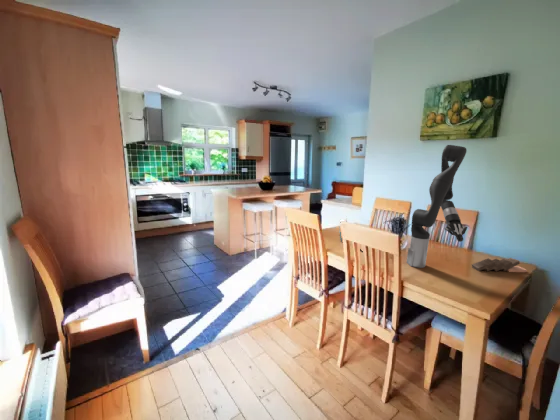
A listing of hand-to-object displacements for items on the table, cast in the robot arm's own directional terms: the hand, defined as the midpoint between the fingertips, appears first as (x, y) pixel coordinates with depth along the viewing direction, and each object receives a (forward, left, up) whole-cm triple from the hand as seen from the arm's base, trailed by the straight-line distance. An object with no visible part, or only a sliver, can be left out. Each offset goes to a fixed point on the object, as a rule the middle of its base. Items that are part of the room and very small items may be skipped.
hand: (460, 241), depth 157 cm
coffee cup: (-59, +40, -15) cm, 73 cm away
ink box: (-57, +56, -15) cm, 81 cm away
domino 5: (+24, -5, -14) cm, 29 cm away
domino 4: (+21, -5, -14) cm, 26 cm away
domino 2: (+11, -6, -14) cm, 19 cm away
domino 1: (+6, -6, -14) cm, 17 cm away
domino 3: (+16, -6, -14) cm, 22 cm away
